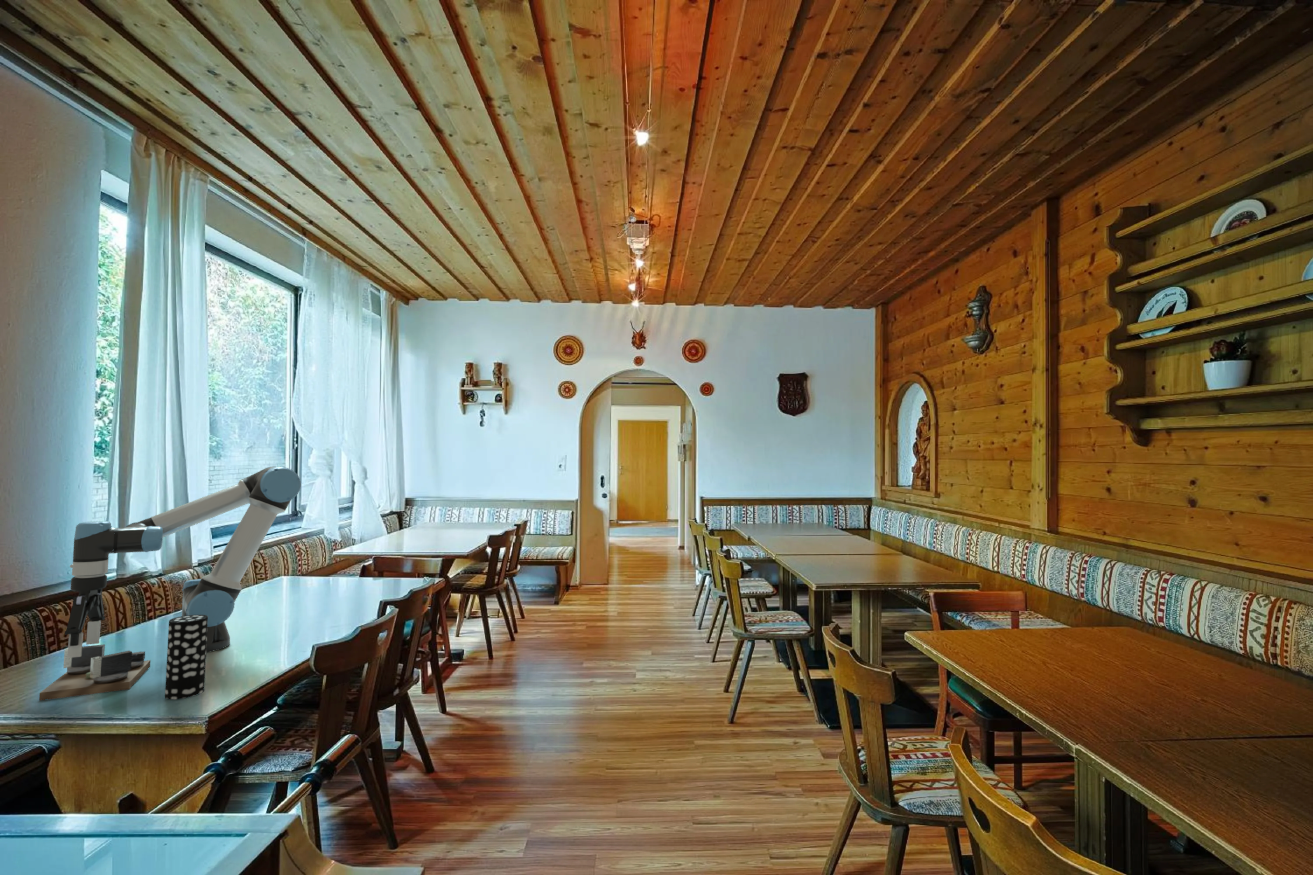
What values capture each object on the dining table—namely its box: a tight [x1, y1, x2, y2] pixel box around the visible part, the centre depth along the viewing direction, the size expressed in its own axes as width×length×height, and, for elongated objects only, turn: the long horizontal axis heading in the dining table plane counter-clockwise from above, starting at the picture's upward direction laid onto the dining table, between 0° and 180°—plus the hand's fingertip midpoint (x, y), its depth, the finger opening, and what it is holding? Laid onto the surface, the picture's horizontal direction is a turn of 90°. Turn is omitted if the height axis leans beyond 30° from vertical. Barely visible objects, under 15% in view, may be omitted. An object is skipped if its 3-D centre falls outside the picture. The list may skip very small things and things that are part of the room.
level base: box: [38, 659, 152, 701], centre depth 167 cm, size 18×20×3 cm
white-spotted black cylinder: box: [164, 615, 208, 700], centre depth 160 cm, size 8×8×20 cm
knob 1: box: [63, 644, 106, 674], centre depth 170 cm, size 8×7×6 cm
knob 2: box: [90, 650, 133, 683], centre depth 163 cm, size 8×7×7 cm
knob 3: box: [131, 650, 146, 669], centre depth 173 cm, size 7×7×4 cm
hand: (83, 650), depth 170 cm, fingers open, 13 cm apart
